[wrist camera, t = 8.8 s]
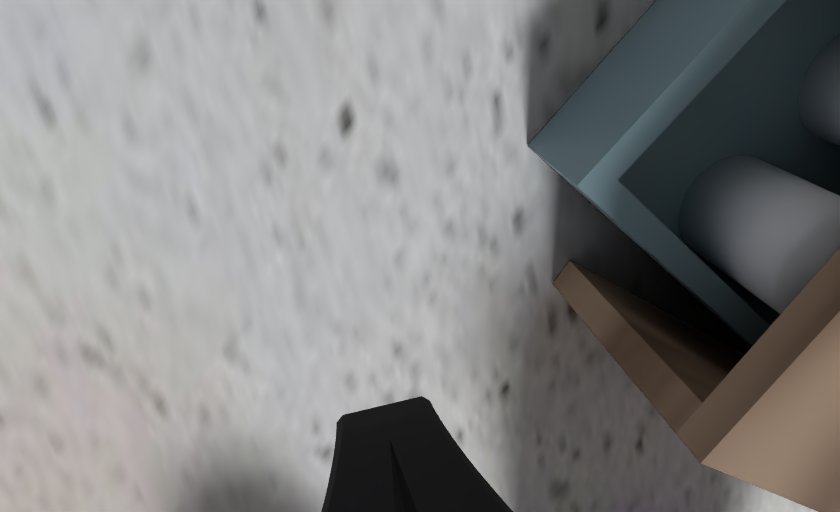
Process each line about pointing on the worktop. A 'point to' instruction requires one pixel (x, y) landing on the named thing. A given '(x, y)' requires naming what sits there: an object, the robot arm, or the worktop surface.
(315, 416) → the worktop surface
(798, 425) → the shelf
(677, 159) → the tray
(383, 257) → the worktop surface
